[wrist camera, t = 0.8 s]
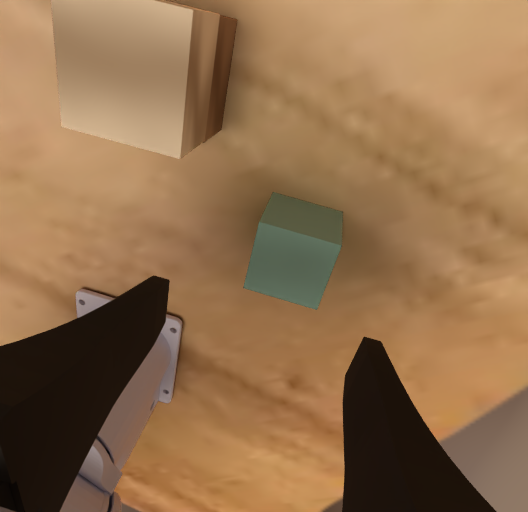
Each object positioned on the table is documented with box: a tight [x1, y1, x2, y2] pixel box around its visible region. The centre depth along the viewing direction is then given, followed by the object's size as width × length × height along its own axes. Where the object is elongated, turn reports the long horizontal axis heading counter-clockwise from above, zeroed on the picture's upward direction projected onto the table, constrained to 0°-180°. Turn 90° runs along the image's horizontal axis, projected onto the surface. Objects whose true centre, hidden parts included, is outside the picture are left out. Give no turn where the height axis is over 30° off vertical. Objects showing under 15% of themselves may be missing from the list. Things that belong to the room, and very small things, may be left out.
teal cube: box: [243, 192, 343, 310], centre depth 20 cm, size 4×4×4 cm
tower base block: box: [202, 15, 237, 143], centre depth 17 cm, size 5×5×3 cm
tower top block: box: [51, 0, 220, 159], centre depth 15 cm, size 5×5×3 cm
